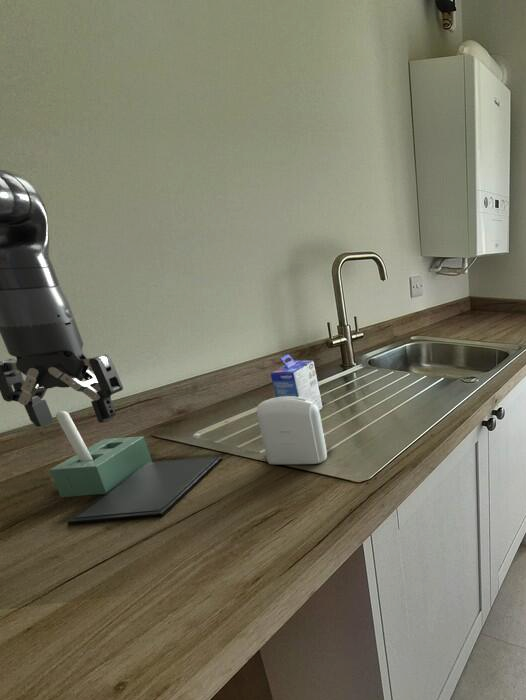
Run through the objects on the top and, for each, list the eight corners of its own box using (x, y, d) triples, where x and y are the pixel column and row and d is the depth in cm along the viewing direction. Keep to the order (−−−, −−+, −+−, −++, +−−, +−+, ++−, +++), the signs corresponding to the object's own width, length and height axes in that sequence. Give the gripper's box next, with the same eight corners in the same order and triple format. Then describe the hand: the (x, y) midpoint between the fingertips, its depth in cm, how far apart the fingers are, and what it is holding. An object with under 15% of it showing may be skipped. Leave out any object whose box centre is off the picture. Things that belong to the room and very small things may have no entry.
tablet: (68, 525, 58) (66, 521, 57) (149, 465, 74) (148, 461, 73) (162, 517, 59) (161, 512, 59) (222, 460, 75) (221, 456, 75)
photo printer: (263, 466, 73) (249, 401, 69) (277, 454, 77) (264, 393, 73) (320, 466, 73) (309, 401, 69) (331, 454, 77) (321, 393, 73)
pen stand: (60, 497, 64) (48, 469, 63) (113, 463, 74) (104, 438, 73) (106, 493, 65) (96, 466, 64) (152, 460, 75) (144, 436, 74)
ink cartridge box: (300, 408, 99) (289, 350, 95) (323, 408, 99) (313, 350, 95) (279, 425, 90) (266, 361, 85) (305, 424, 90) (293, 361, 85)
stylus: (91, 487, 67) (51, 414, 62) (98, 483, 68) (59, 410, 64) (101, 486, 67) (61, 412, 62) (107, 481, 68) (69, 409, 64)
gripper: (-52, 326, 54) (-1, 436, 59) (70, 322, 56) (109, 429, 61) (5, 317, 61) (46, 416, 67) (112, 313, 63) (143, 410, 69)
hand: (76, 422), depth 64 cm, fingers open, 8 cm apart
